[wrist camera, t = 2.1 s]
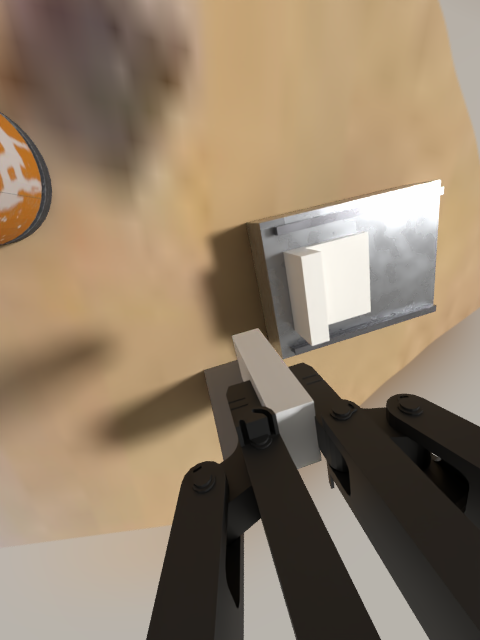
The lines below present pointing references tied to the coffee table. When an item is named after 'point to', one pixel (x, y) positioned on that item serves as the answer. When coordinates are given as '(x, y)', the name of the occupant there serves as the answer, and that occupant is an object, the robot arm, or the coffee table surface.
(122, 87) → the coffee table surface
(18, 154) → the canister
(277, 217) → the socket
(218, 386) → the plug
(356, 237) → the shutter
